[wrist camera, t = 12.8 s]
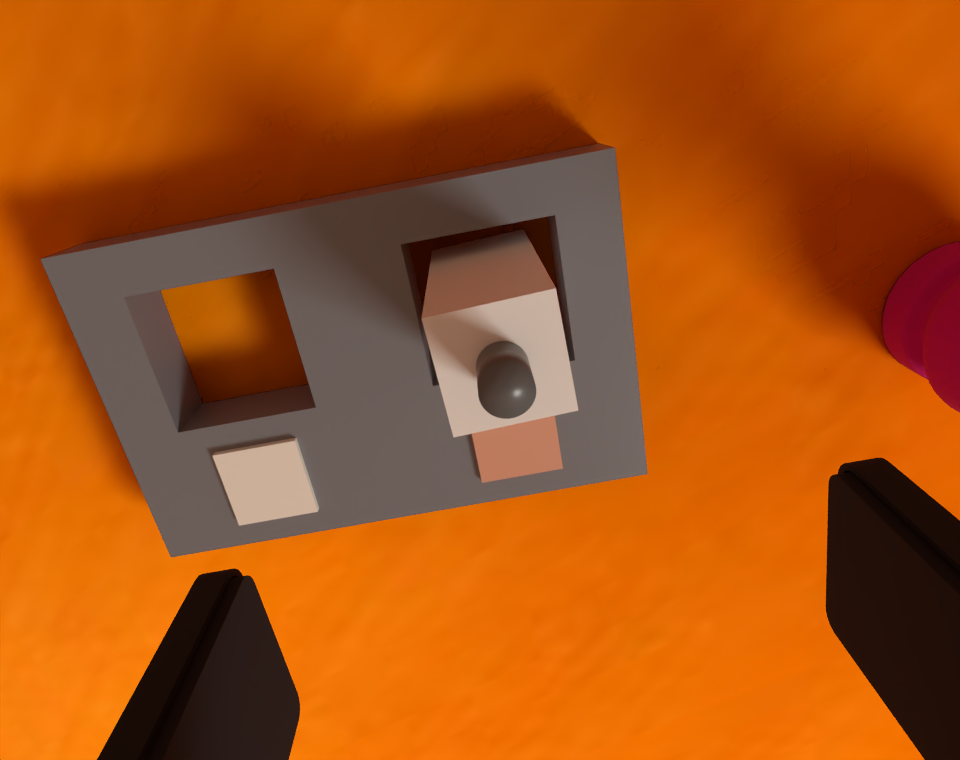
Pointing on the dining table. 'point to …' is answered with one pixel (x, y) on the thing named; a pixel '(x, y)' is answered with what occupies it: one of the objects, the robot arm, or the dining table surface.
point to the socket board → (355, 357)
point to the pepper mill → (928, 321)
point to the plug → (496, 334)
